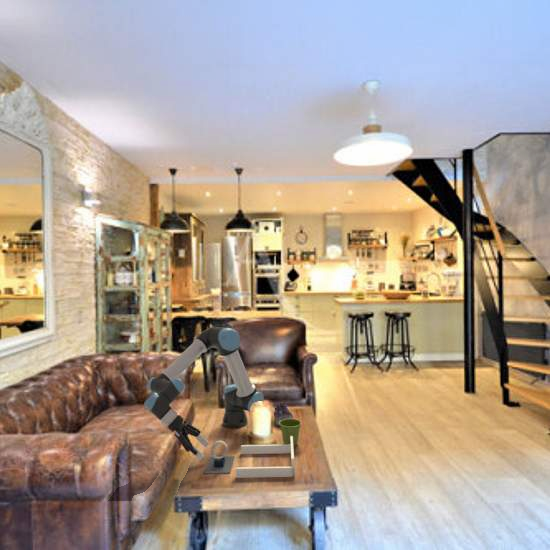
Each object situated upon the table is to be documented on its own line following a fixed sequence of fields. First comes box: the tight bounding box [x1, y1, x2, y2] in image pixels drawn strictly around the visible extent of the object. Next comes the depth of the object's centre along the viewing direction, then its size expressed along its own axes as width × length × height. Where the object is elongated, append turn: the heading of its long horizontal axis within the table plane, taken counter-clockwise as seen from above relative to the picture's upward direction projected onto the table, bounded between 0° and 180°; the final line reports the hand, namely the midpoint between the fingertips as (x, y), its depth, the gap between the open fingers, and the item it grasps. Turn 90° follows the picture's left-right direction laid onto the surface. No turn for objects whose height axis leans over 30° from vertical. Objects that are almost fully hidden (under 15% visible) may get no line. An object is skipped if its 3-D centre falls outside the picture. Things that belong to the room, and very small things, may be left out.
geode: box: [273, 402, 294, 427], centre depth 245 cm, size 20×12×10 cm, turn 8°
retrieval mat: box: [203, 455, 235, 475], centre depth 190 cm, size 16×12×1 cm
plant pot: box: [279, 418, 302, 447], centre depth 211 cm, size 12×12×11 cm
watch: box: [210, 440, 228, 468], centre depth 189 cm, size 6×8×11 cm
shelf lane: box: [235, 436, 295, 479], centre depth 189 cm, size 24×26×8 cm
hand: (205, 451), depth 190 cm, fingers open, 13 cm apart
